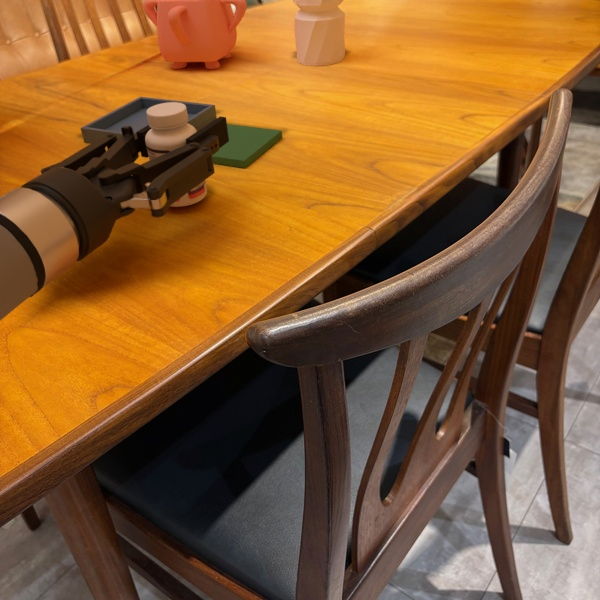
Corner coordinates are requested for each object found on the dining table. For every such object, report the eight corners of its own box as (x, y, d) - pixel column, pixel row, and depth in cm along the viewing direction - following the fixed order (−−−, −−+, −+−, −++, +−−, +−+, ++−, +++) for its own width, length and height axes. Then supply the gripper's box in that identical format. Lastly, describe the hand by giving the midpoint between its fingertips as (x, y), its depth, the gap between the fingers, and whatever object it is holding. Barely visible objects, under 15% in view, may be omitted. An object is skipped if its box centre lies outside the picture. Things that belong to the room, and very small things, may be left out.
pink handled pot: (182, 80, 104) (168, -5, 96) (145, 61, 114) (129, -17, 107) (265, 59, 111) (258, -21, 103) (223, 44, 122) (214, -31, 114)
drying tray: (84, 142, 84) (80, 127, 82) (143, 109, 93) (140, 96, 92) (162, 154, 79) (159, 139, 77) (217, 118, 88) (215, 104, 87)
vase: (298, 67, 106) (294, -9, 98) (294, 54, 113) (290, -19, 105) (349, 63, 106) (348, -14, 99) (341, 50, 113) (340, -23, 106)
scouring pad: (176, 157, 77) (175, 150, 77) (218, 129, 84) (217, 122, 84) (245, 168, 74) (244, 160, 73) (282, 137, 81) (281, 130, 80)
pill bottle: (202, 181, 70) (188, 96, 64) (212, 202, 65) (198, 112, 60) (154, 190, 68) (136, 104, 62) (161, 212, 64) (142, 122, 58)
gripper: (-15, 244, 56) (140, 147, 73) (146, 287, 49) (278, 169, 66) (-48, 169, 52) (126, 83, 68) (125, 204, 45) (272, 99, 61)
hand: (200, 125), depth 67 cm, fingers closed on pill bottle, 5 cm apart
